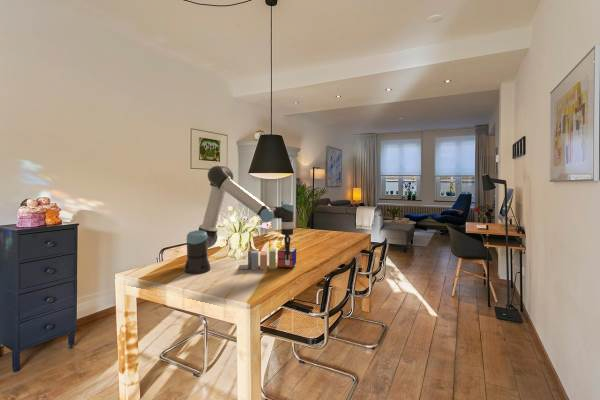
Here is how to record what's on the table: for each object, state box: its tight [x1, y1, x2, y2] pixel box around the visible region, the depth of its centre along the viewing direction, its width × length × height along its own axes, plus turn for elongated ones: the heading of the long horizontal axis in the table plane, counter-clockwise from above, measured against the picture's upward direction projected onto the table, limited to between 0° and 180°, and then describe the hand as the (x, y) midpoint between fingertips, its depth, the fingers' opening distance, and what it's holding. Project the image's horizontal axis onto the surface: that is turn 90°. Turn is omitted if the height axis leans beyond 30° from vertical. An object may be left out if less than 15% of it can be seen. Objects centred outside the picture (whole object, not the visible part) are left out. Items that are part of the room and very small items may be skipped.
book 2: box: [259, 251, 268, 270], centre depth 202 cm, size 4×8×9 cm, turn 4°
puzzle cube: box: [277, 247, 297, 268], centre depth 203 cm, size 10×10×10 cm
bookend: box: [237, 248, 252, 271], centre depth 201 cm, size 7×9×11 cm
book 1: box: [250, 250, 259, 270], centre depth 202 cm, size 4×7×10 cm, turn 4°
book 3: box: [268, 248, 277, 270], centre depth 203 cm, size 4×7×11 cm, turn 4°
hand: (287, 262), depth 203 cm, fingers closed on puzzle cube, 11 cm apart
